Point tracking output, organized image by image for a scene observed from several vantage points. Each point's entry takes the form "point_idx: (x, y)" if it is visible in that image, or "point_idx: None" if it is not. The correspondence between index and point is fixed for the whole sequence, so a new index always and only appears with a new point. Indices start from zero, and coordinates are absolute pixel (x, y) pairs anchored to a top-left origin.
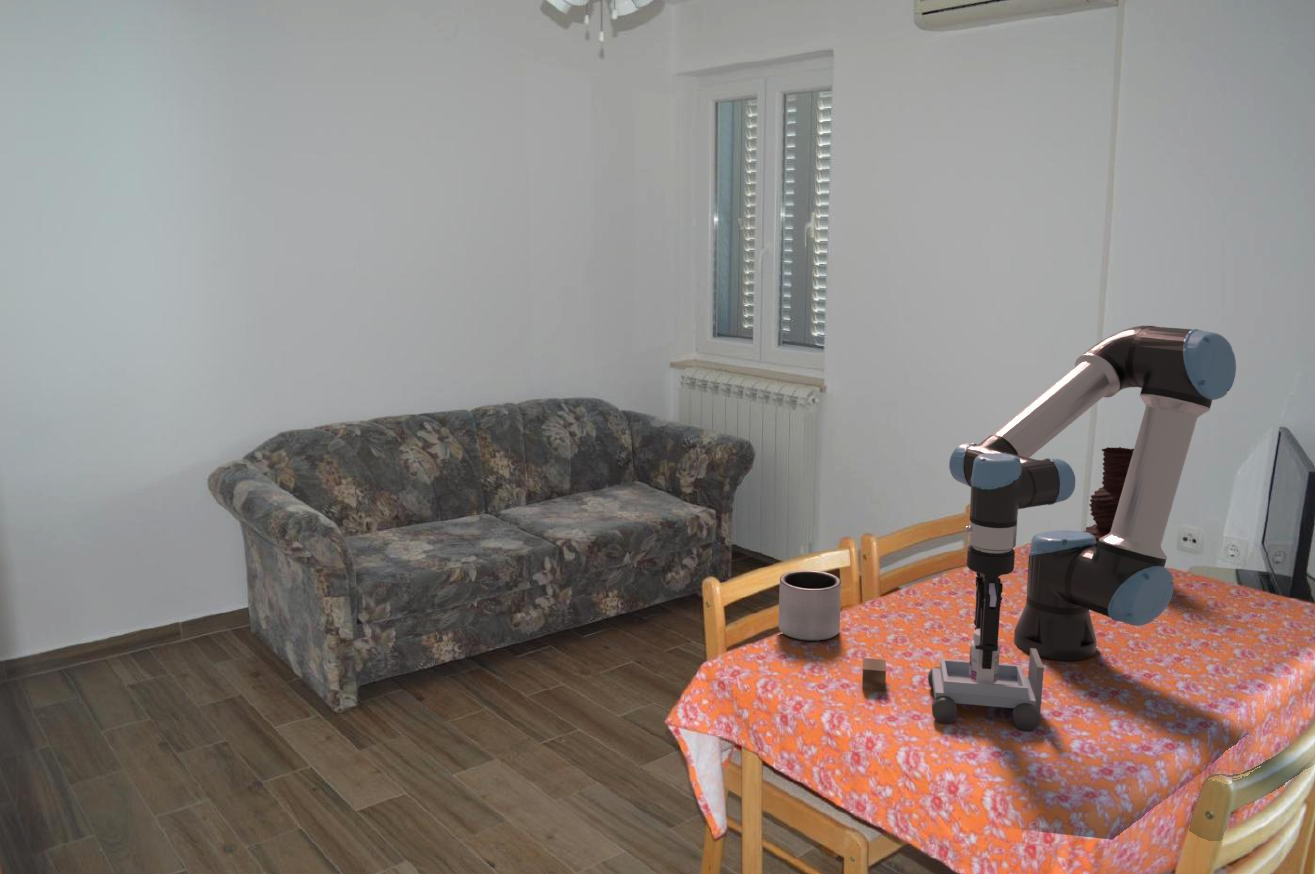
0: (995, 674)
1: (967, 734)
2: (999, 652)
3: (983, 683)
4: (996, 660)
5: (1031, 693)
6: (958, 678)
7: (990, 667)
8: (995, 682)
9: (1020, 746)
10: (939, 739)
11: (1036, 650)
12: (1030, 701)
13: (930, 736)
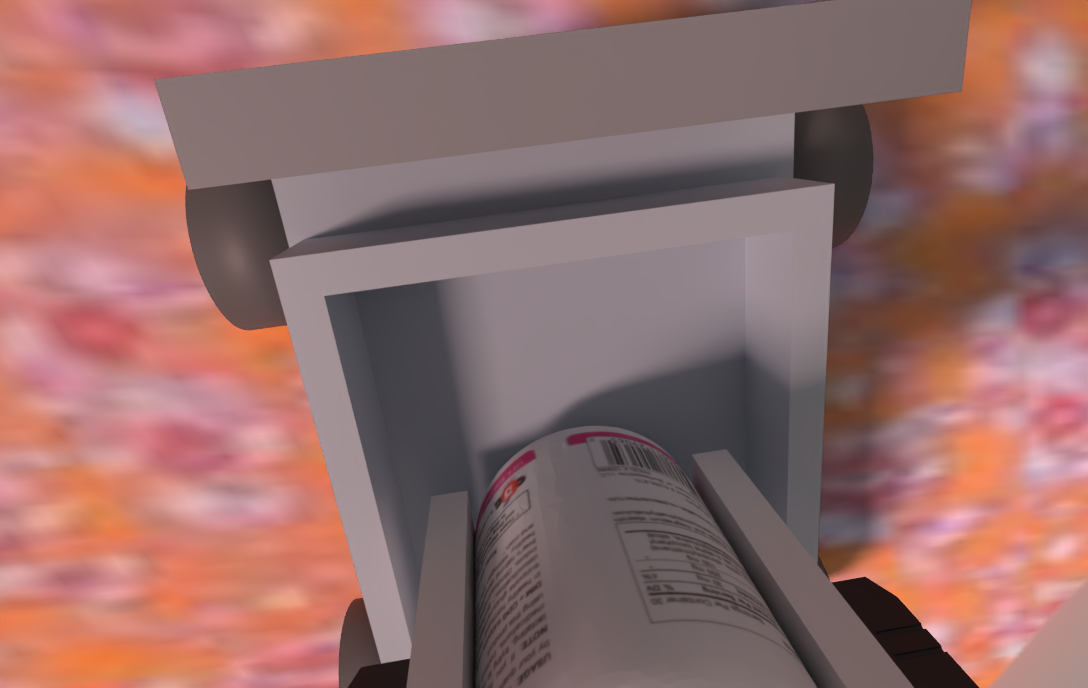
0: (677, 478)
1: (866, 448)
2: (683, 608)
3: (797, 531)
4: (732, 572)
5: (651, 139)
6: None
7: (887, 597)
8: (638, 434)
9: (963, 196)
10: (928, 548)
11: (247, 80)
12: (790, 150)
13: (905, 582)
